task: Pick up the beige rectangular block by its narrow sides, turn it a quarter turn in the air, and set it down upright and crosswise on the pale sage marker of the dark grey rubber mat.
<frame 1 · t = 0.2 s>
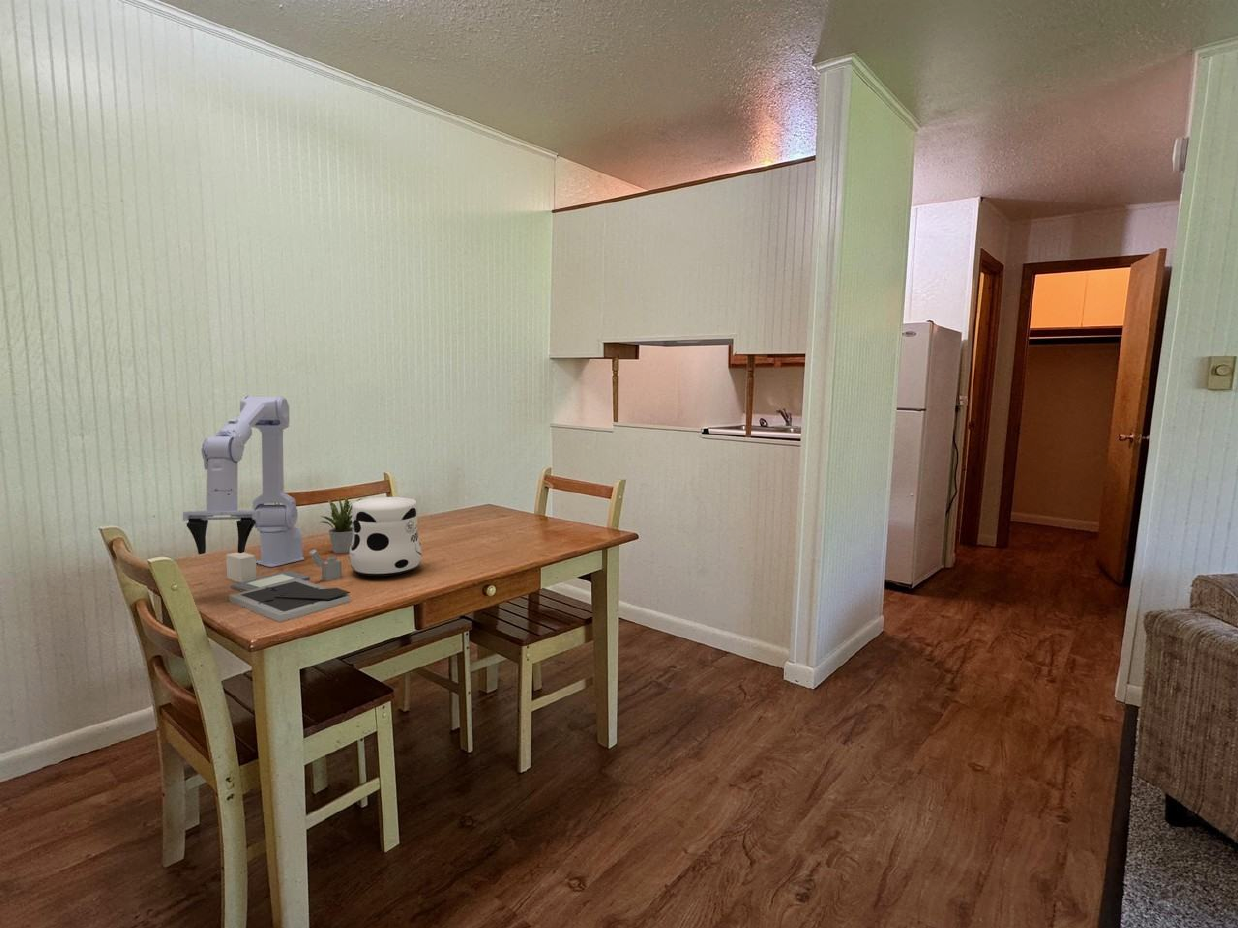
hand: (221, 553, 143), 11 cm above the table, tool pointing down, fingers open, 7 cm apart
beige rectangular block: (242, 579, 159), on the table
mat: (271, 583, 156), on the table
picture frame: (290, 605, 144), on the table
house plant: (348, 551, 186), on the table
lighter: (326, 580, 160), on the table
milk container: (386, 572, 167), on the table
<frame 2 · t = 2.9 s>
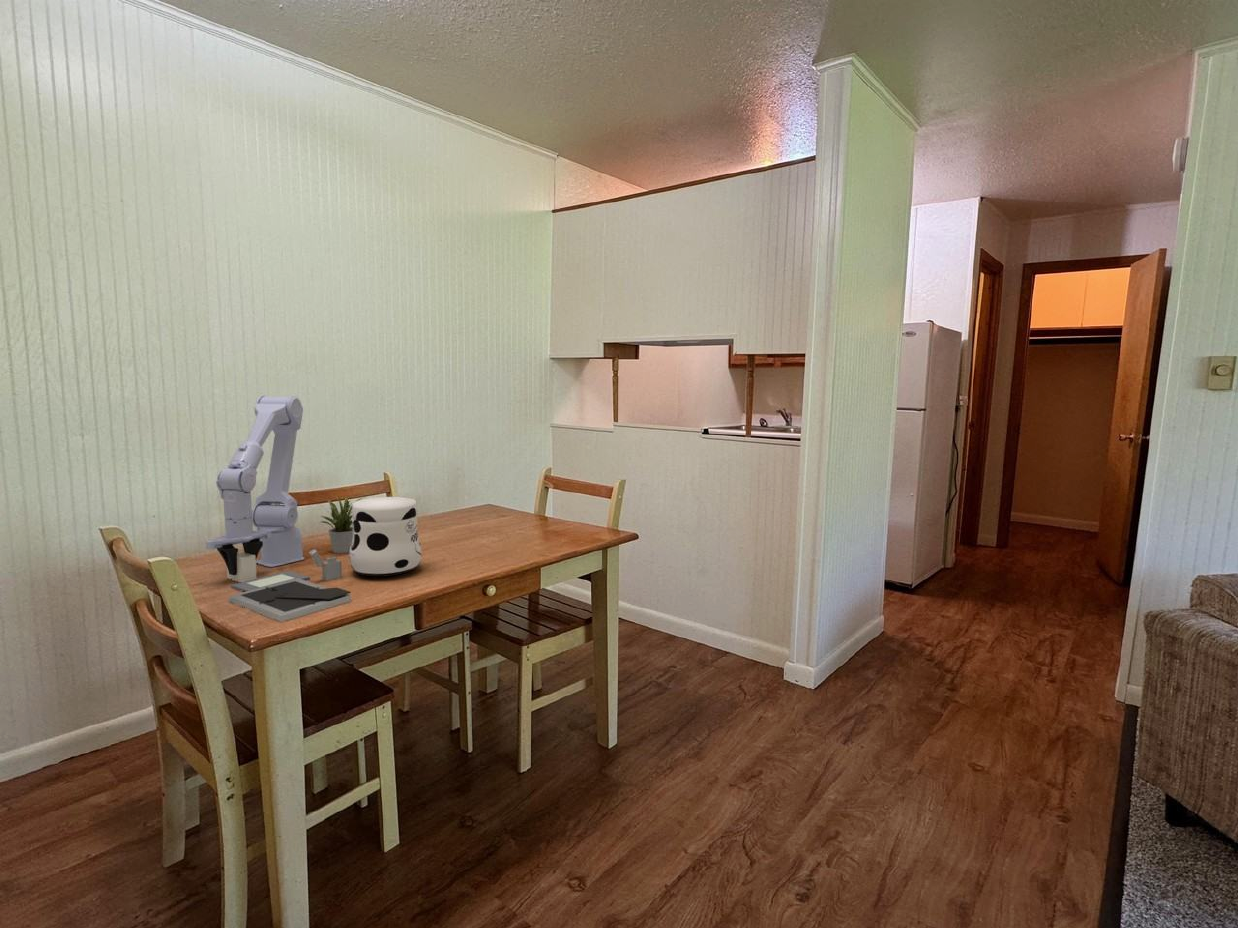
hand: (241, 572, 159), 2 cm above the table, tool pointing down, fingers closed on beige rectangular block, 3 cm apart
beige rectangular block: (242, 578, 159), on the table, touching gripper
everything else where it was.
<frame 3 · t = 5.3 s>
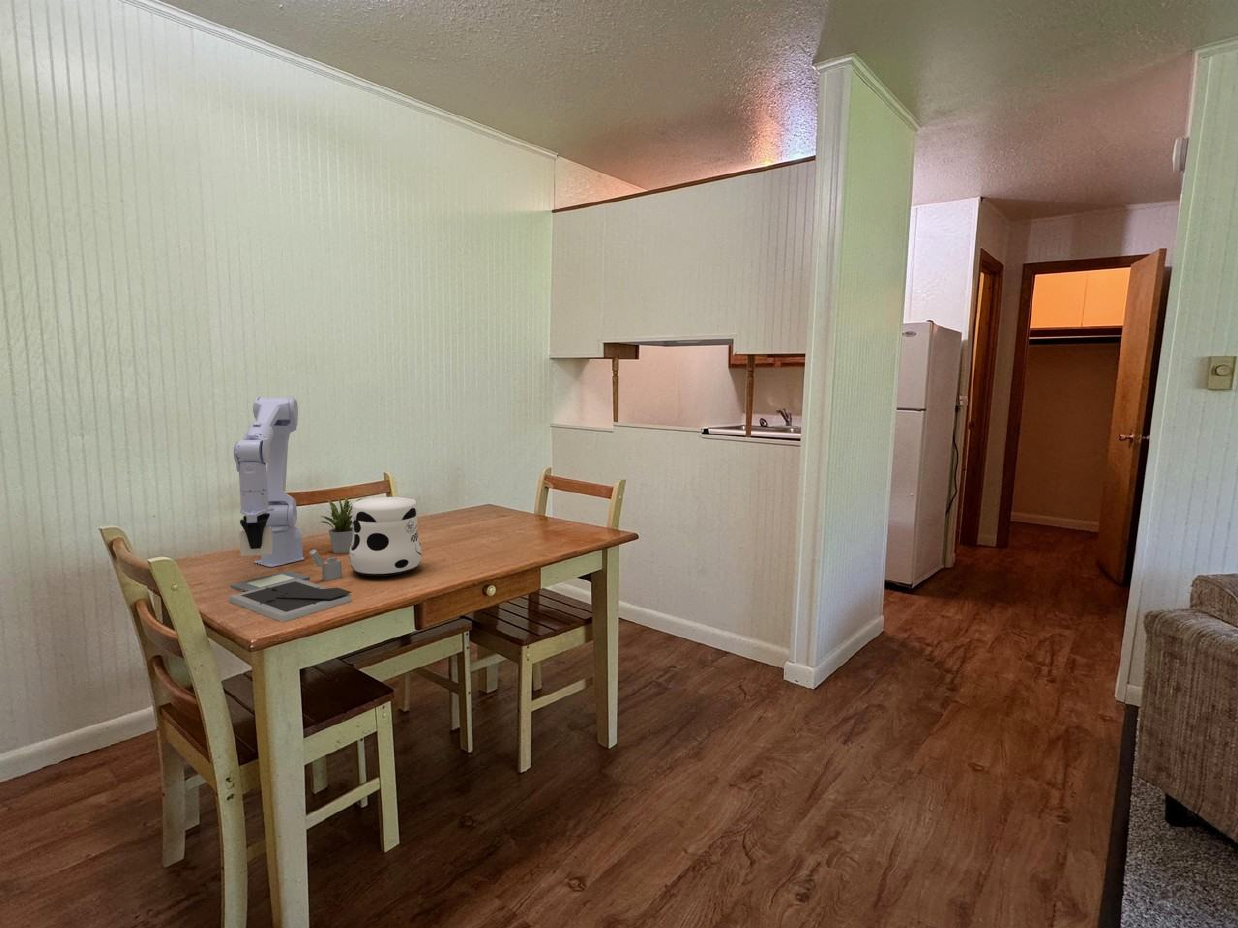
hand: (256, 546, 156), 9 cm above the table, tool pointing down, fingers closed on beige rectangular block, 3 cm apart
beige rectangular block: (257, 553, 156), point 7 cm above the table, touching gripper
everything else where it was.
when the fingers open (4 cm above the table, at t = 7.5 s): beige rectangular block drops 1 cm, resting on mat.
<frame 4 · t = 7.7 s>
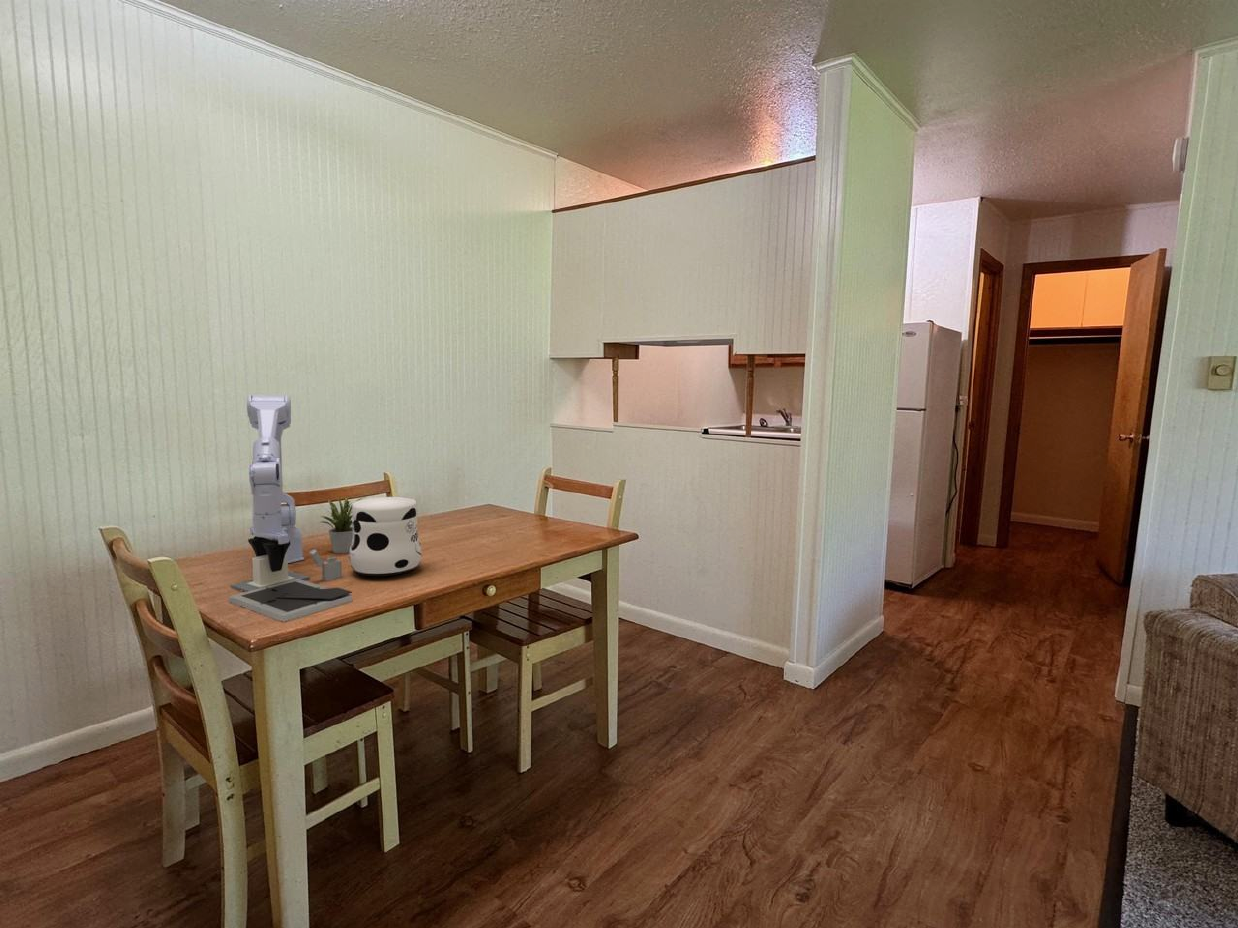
hand: (270, 568, 156), 4 cm above the table, tool pointing down, fingers open, 5 cm apart
beige rectangular block: (271, 580, 156), point 1 cm above the table, touching mat
everything else where it was.
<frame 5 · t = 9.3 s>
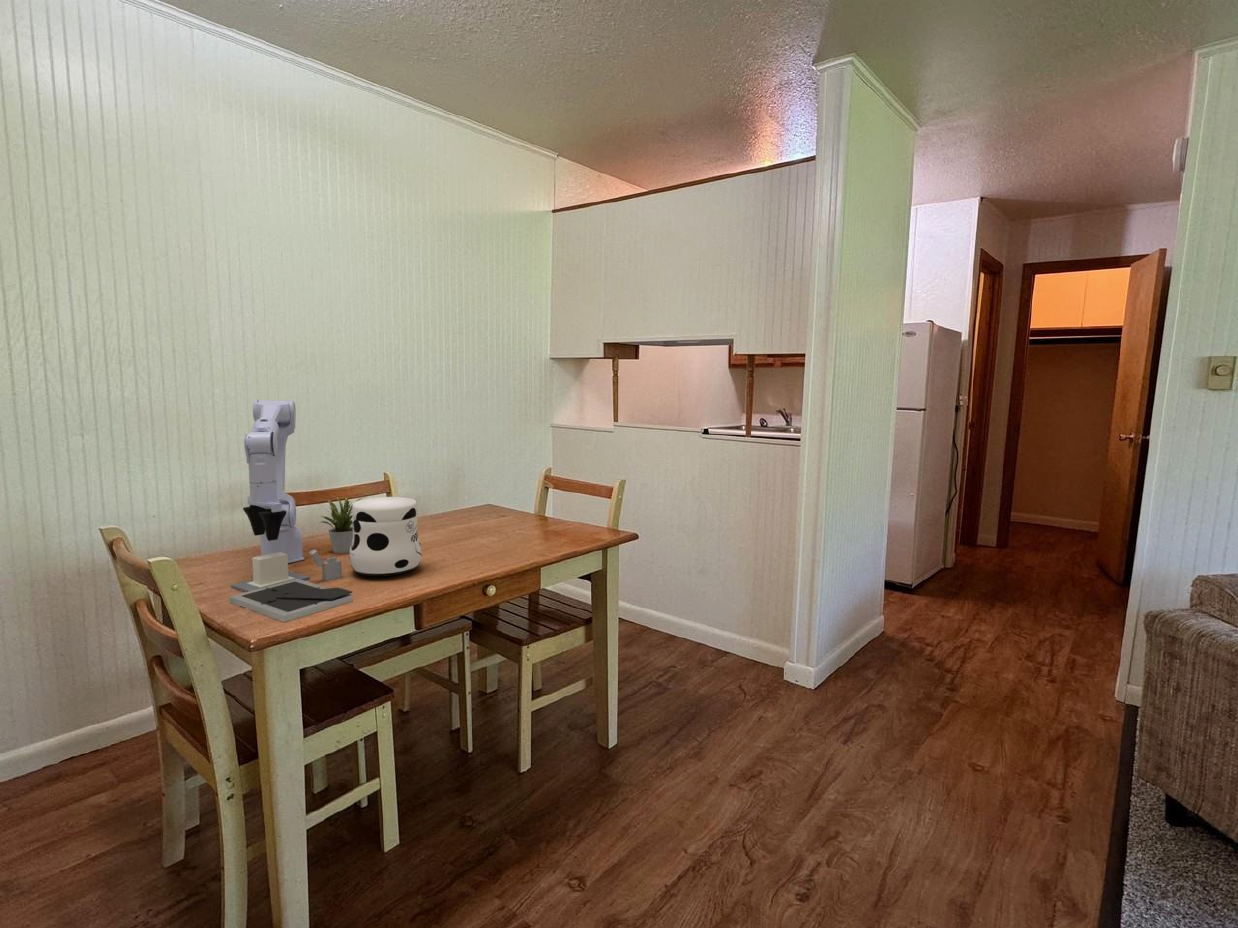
hand: (265, 537, 158), 10 cm above the table, tool pointing down, fingers open, 7 cm apart
nothing on the table moved.
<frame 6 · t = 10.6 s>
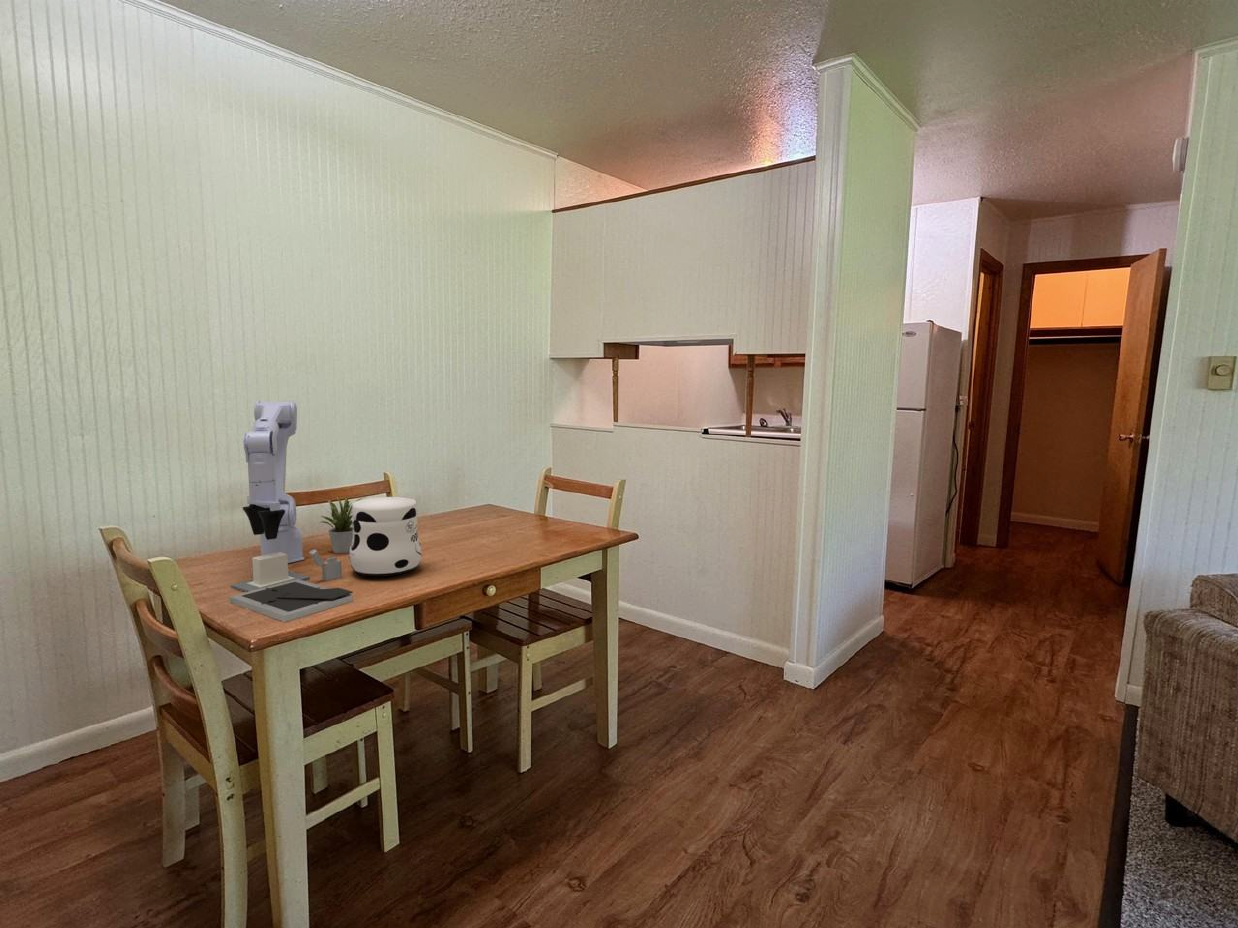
hand: (265, 536, 159), 10 cm above the table, tool pointing down, fingers open, 7 cm apart
nothing on the table moved.
at the end: beige rectangular block 0.0 cm off-centre on the mat, point 0.7 cm above the mat's base; beige rectangular block tilted 0°; beige rectangular block touching mat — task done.
